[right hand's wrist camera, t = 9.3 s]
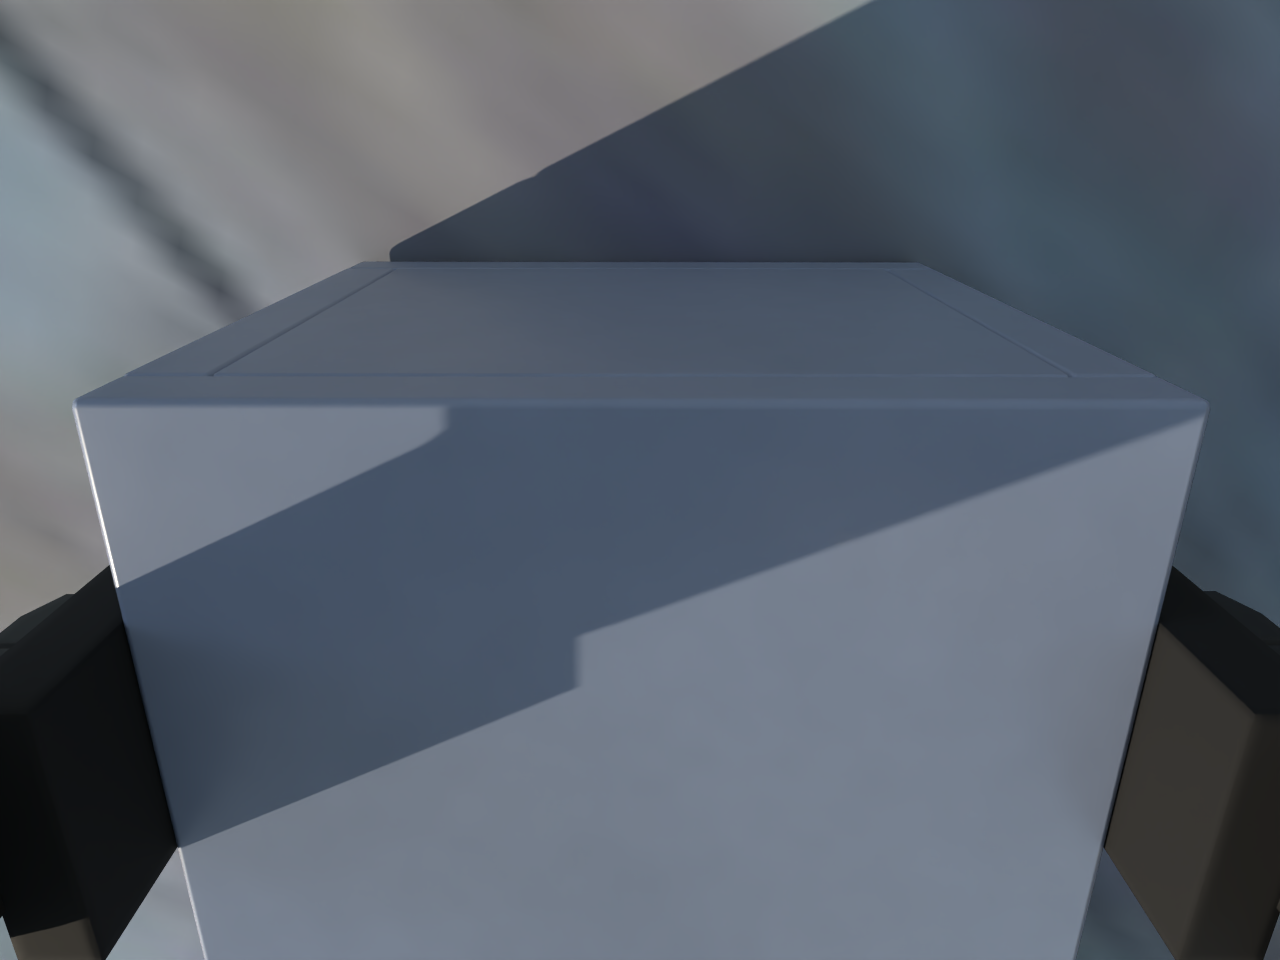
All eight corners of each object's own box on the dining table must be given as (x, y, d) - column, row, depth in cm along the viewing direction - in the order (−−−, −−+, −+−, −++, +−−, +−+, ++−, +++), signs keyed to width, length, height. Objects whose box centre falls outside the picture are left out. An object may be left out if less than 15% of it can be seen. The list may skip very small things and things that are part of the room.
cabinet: (831, 1049, 23) (935, 1547, 15) (447, 1049, 22) (343, 1546, 15) (921, 261, 15) (1217, 400, 8) (359, 261, 15) (65, 400, 8)
